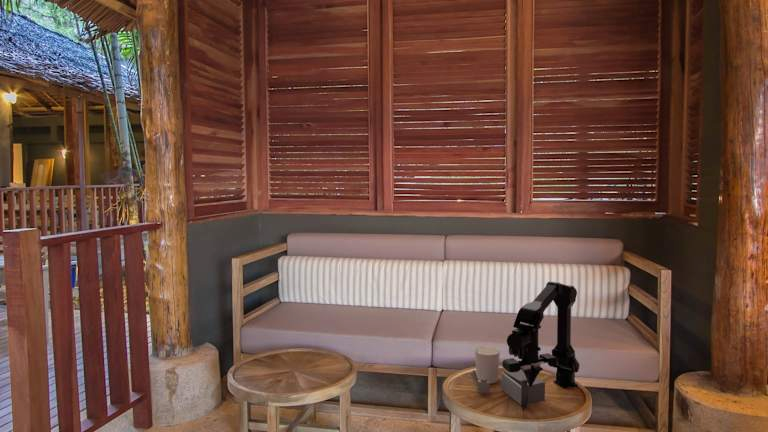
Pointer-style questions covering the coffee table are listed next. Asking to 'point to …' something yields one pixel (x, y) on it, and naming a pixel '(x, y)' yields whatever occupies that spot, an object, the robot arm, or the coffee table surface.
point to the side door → (515, 389)
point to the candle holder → (487, 363)
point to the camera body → (535, 391)
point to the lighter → (481, 383)
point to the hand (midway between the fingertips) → (530, 386)
